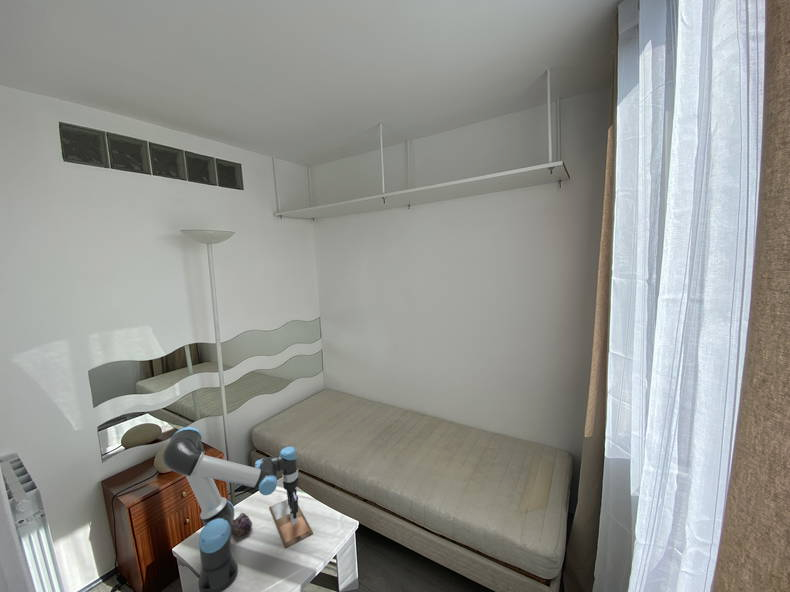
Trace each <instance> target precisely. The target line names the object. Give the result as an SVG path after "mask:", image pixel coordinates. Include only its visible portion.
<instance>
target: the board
mask: <svg viewBox="0 0 790 592" xmlns="http://www.w3.org/2000/svg"><path fill="white" fill-rule="evenodd" d="M268 509H269V511H270V513H271V516H272V519H273V521H274V524H275V526H276V529H277V531H278V533H279V536H280V538H281V542H282V544H283V546H284V548H285V549H287V548H289V547H291V546H293V545H295V544H296V543H299V542H301V541H302V540H305V539H307V538H308V537H310V536H312V535H314V532H313V529H312V527H311V526H310V523H309V522H308V521H307V519H306V517H305V515H304V513H303V511H302V509H301V508H300V506H299V504H298V512H297V518H298V522H297V523H295V524H293V525H292V522H291V516H290V508H289V505H288V498H287V499H285V500H283V501H280V502H278V503H276V504H274V505H271V506H269V507H268Z"/></svg>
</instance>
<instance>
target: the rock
mask: <svg viewBox="0 0 790 592" xmlns="http://www.w3.org/2000/svg"><path fill="white" fill-rule="evenodd" d="M252 525H253V522H252V520H251V519H250V517H249V515H247V514H246V513H244V512H241V513H240V514H238V517H236V519H233V526H232V533H234V534H236V536H239V537H242V536H243V535H244V534H245V533H247V532H248V531H249V530H251V527H252Z"/></svg>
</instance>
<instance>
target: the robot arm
mask: <svg viewBox="0 0 790 592" xmlns="http://www.w3.org/2000/svg"><path fill="white" fill-rule="evenodd" d="M205 452H206V451H205V448H204V446H203V443H202V433H201V431H200V430H199V429H198V428H196V427H192V426H185V427H183V428H180V429H179V430H177V431H176V432H174V434H173V435H172V436H171V438H170V440H169V441H168V443H167V446H166V447H165V448H164V450H163V453H162V461H163V464H164V466H165V467H166V468H167V469H169V470H170V471H171V472H175V473H177V474H179V475H183V476H185V477H186V480H187V482H188V484H189V485H190V488H191V490H192V493H193V494H194V496H195V499H196V501H197V504H198V505H199V508H200V509H201V512H200V515H199V518H200V519H201V521H202V523H203V528H202V529H201V530H200V532H199V536H198V546H199V553H200V564H201V570H200V574H199V579H198V582H197V583H198V590H199V592H222V591H224V590H227V588H229V587H230V586H231V584H232V583H233V582H234V581H235V580H236V578H237V576H238V573H239V568H238V567H239V566H238V562H237V560H236V558H235V557H234V555H233V550H232V533H233V532H232V526H233V519H234V518H235V507H234V505H233V503H232V502H231V501H229V500H228V499H227V498H226V497H224V496H223V497H222V495H221V494H220V491H219V489H218V487H217V485H216V482H215V480H218V481H223V482H228V483H232V484H235V485H241V486H245V487H250V488H254V489H258V492H259V494H261V495H263V496H269V495H272V494H273V493H274V492H275V491H276V489H277V486H278V484H277V483H278V477H277V473H278V472H281V476H282V477H281V478H282V486H283V489H284V490H286V495H287V499H288V505H289V508H290V516H291V522H292V525H293V524H295V523H297V522H298V518H297V512H298V505H299V496H298V495H297V493H298V491H297V490H298V489H297V487H298V486H299V484H300V481H299V479H300V478H299V468H298V457H297V451H296V448H295V447H294V446H286V447H284V448H282V449H281V450H280V453H279V454H276V455H273V456H269V457H263V458H260V459H258V460H256V461H255V463H254V467H253V466H250V465H249V466H248V465H246V464H241V463H238V462H233V461H230V460H227V459H222V458H218V457H213V456H210V455H207V454H205ZM234 520H235V519H234Z"/></svg>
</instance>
